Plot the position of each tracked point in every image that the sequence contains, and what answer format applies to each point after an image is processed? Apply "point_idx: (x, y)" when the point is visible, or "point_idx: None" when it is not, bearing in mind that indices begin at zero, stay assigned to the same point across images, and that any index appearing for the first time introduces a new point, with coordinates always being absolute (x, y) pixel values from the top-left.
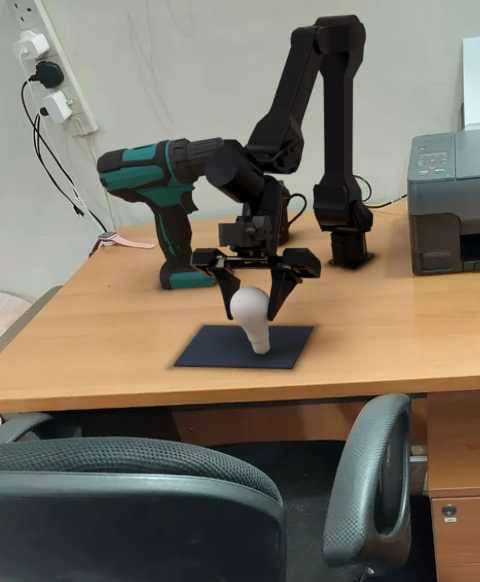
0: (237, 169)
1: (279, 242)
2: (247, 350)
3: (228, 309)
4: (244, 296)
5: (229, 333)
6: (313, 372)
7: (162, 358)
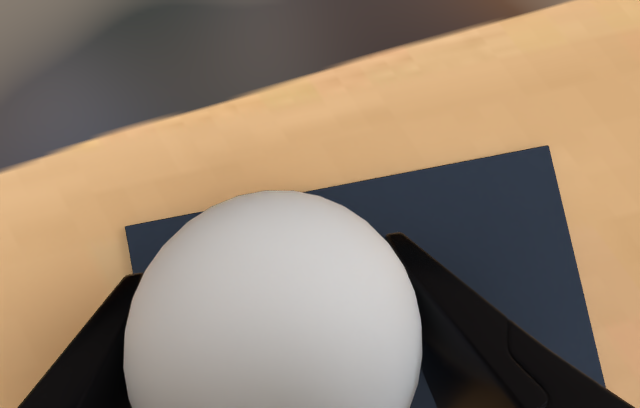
0: None
1: None
2: None
3: (413, 260)
4: (249, 273)
5: None
6: (37, 228)
7: (609, 179)
